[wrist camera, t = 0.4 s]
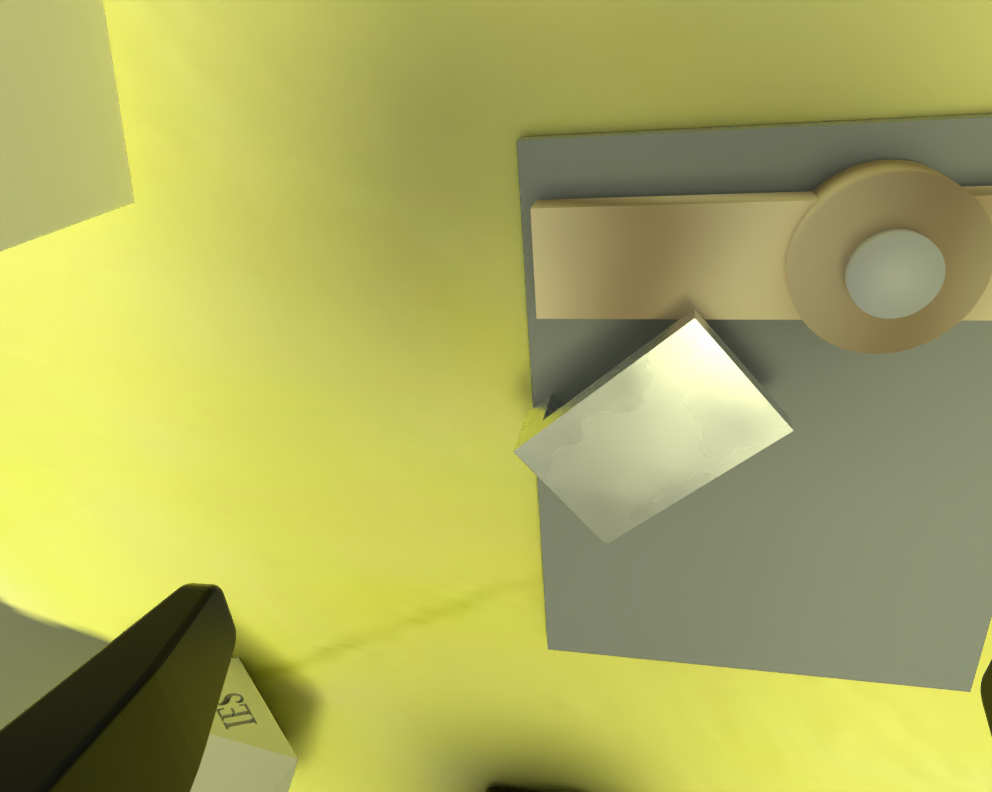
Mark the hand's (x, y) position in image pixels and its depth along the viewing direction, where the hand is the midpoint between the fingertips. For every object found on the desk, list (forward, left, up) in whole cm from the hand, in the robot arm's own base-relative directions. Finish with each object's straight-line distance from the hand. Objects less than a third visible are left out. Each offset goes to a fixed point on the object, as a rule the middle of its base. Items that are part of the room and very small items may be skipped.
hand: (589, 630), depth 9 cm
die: (-20, +18, -15) cm, 31 cm away
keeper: (-4, 0, -14) cm, 14 cm away
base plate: (-5, -4, -14) cm, 16 cm away
